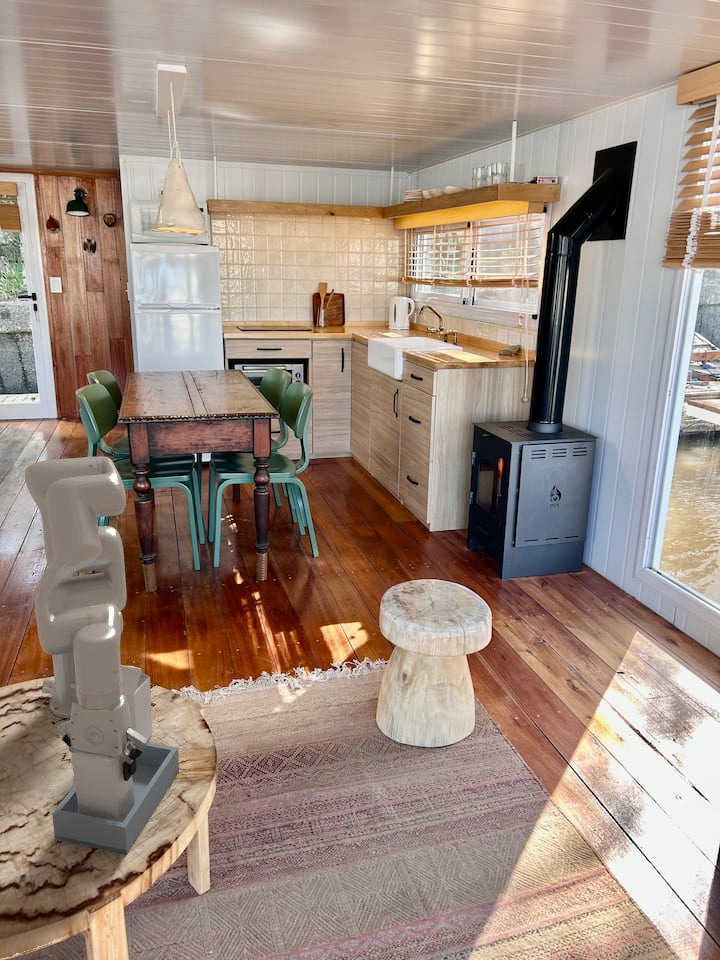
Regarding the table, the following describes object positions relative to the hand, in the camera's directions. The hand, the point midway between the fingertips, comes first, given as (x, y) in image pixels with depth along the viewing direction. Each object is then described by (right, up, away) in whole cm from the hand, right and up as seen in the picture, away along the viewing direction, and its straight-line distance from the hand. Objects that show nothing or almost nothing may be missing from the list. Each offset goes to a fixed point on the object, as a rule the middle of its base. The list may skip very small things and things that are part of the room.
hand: (105, 770), depth 135 cm
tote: (+1, -9, +7) cm, 12 cm away
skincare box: (-1, -10, +3) cm, 10 cm away
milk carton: (-3, -4, +24) cm, 25 cm away
